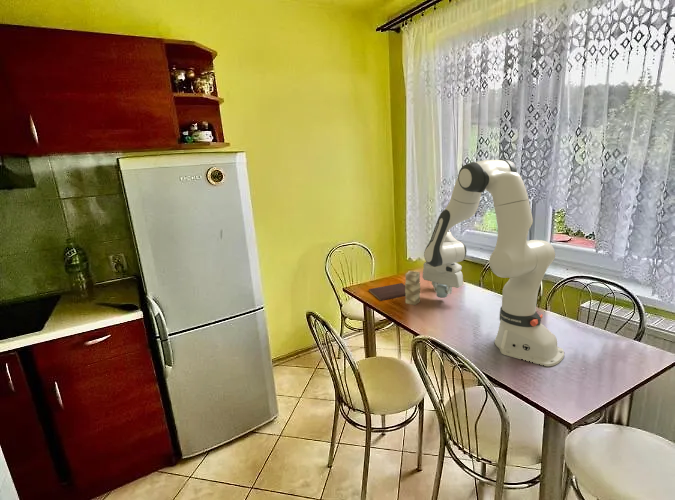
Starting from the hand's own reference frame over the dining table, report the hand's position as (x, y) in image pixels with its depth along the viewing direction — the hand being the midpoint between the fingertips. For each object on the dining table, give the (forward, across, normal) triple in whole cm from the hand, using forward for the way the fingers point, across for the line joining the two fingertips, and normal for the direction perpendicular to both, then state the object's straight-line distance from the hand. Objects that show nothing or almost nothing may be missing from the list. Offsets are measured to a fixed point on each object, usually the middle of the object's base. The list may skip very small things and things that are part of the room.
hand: (441, 292), depth 176 cm
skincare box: (+5, -7, +12) cm, 15 cm away
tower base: (+5, -10, -10) cm, 15 cm away
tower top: (-5, -10, -10) cm, 15 cm away
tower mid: (0, -10, -10) cm, 14 cm away
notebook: (+5, -26, -7) cm, 27 cm away
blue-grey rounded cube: (+2, 0, 0) cm, 2 cm away
